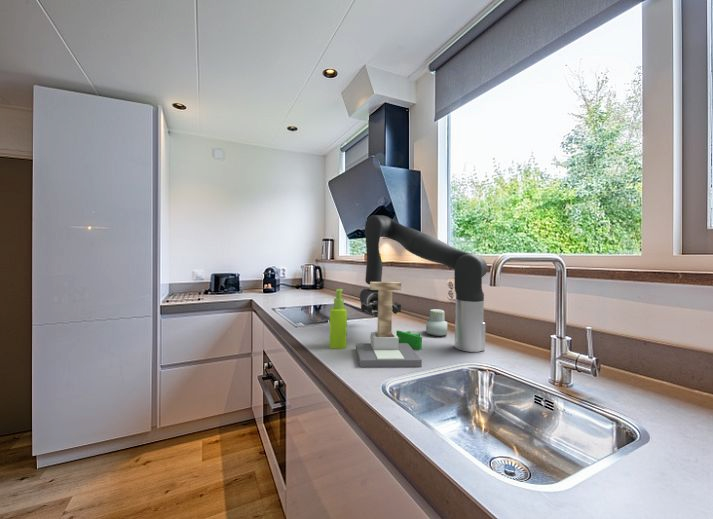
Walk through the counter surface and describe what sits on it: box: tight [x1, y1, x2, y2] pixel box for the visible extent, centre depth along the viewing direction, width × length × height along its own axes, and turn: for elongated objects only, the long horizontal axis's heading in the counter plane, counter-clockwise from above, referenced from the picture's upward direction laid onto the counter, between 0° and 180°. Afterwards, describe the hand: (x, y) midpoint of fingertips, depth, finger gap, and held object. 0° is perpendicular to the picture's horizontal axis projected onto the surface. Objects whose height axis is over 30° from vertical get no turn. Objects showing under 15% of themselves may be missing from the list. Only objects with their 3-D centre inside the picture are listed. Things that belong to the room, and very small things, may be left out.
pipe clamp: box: [395, 330, 423, 351], centre depth 113 cm, size 11×4×5 cm, turn 39°
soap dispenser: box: [329, 288, 348, 350], centre depth 110 cm, size 6×7×20 cm
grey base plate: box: [355, 331, 423, 368], centre depth 99 cm, size 18×17×6 cm
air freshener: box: [425, 308, 448, 337], centre depth 129 cm, size 11×8×10 cm
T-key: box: [369, 281, 402, 337], centre depth 104 cm, size 10×4×21 cm, turn 95°
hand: (383, 310), depth 106 cm, fingers open, 8 cm apart
